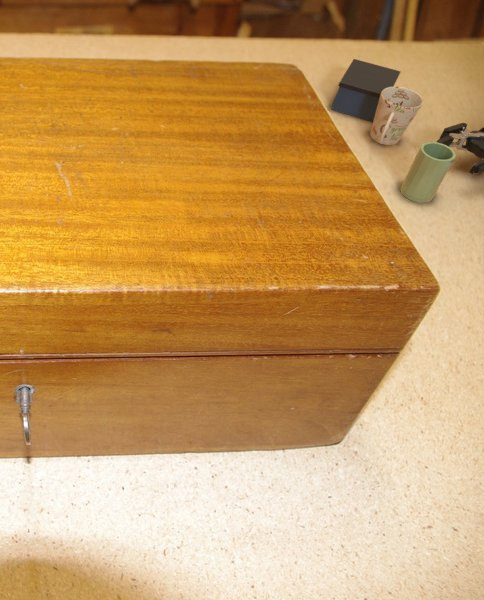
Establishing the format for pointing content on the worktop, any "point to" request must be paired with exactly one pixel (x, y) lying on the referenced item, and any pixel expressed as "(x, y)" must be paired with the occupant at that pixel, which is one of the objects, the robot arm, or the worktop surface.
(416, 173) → the cup
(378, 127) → the mug
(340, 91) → the container
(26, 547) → the worktop surface
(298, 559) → the worktop surface
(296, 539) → the worktop surface
